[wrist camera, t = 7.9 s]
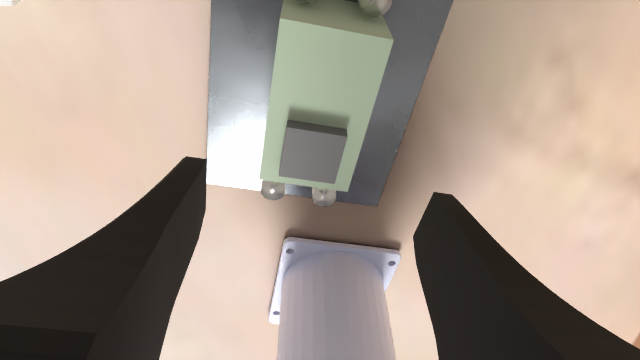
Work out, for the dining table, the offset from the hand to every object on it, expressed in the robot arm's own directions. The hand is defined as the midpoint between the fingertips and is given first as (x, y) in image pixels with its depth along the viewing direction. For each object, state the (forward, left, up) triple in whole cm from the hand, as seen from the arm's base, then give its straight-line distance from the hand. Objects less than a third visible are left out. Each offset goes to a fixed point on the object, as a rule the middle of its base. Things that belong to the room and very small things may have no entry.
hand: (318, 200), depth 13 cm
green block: (+1, 0, -8) cm, 8 cm away
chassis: (0, 0, -9) cm, 9 cm away
